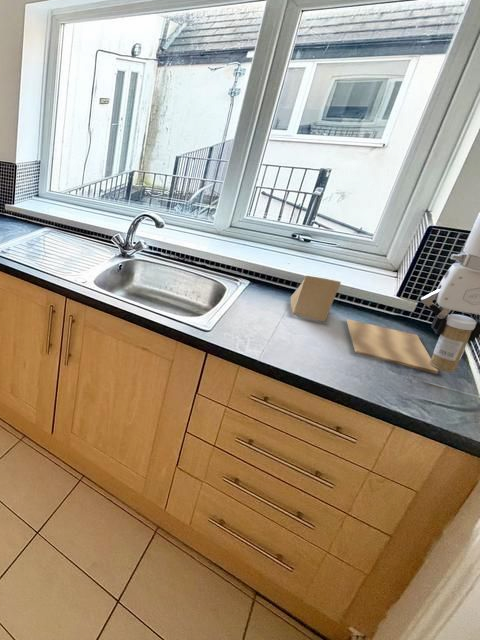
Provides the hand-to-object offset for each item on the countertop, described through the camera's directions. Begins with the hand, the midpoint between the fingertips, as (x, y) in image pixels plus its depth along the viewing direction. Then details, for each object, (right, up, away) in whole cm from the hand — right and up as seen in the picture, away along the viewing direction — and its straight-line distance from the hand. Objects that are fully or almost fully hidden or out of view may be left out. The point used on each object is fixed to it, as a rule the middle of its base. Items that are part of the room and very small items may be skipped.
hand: (452, 334), depth 98 cm
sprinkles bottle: (0, -8, +2) cm, 9 cm away
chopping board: (+5, -7, +21) cm, 23 cm away
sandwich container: (-2, 0, +40) cm, 41 cm away
